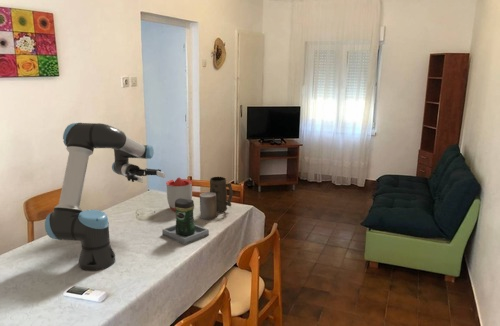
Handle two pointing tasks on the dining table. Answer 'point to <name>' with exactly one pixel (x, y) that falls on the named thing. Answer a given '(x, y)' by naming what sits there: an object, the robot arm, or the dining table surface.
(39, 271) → the dining table surface
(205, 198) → the pillar candle
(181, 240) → the tray
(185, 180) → the citrus juicer
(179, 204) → the coffee jar
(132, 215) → the dining table surface
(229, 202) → the beer stein
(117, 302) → the dining table surface
